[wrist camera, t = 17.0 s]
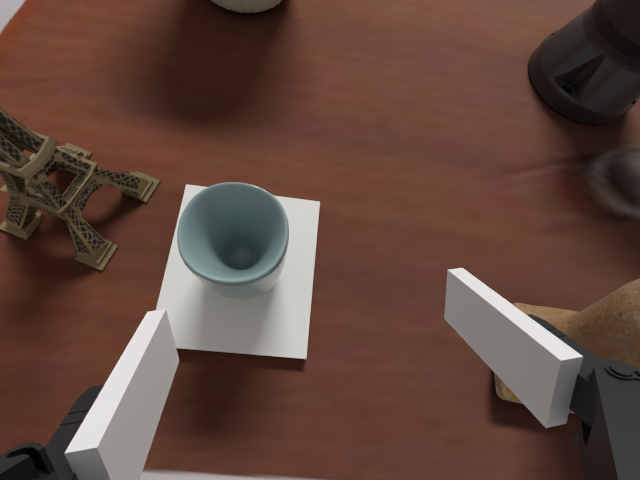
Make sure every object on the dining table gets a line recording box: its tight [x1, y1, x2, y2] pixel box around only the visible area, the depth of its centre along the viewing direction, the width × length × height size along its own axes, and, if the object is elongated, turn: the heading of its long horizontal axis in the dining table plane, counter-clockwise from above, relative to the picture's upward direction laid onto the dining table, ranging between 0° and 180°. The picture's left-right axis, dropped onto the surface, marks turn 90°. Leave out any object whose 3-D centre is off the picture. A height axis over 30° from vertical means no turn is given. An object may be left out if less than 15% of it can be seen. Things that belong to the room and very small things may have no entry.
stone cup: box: [494, 278, 640, 414], centre depth 28 cm, size 15×12×15 cm
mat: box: [156, 184, 320, 359], centre depth 33 cm, size 16×14×1 cm
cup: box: [177, 182, 289, 299], centre depth 28 cm, size 8×8×10 cm
